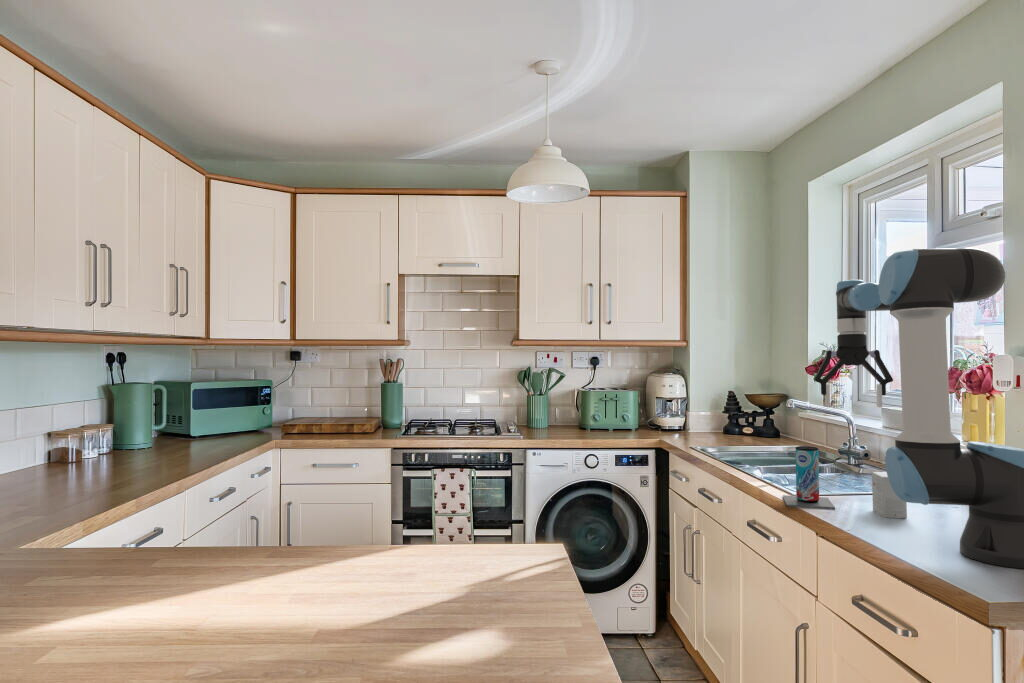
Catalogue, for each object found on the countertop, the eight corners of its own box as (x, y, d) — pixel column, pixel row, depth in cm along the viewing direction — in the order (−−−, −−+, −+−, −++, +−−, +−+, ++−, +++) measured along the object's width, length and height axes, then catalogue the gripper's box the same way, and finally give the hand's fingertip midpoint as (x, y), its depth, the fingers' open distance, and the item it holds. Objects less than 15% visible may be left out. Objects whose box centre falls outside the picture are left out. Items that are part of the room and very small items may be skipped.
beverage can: (792, 500, 181) (791, 447, 181) (802, 497, 185) (801, 445, 185) (813, 504, 176) (812, 450, 177) (823, 501, 180) (822, 447, 181)
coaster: (835, 509, 173) (835, 507, 173) (787, 506, 177) (787, 504, 177) (827, 499, 184) (827, 497, 184) (782, 497, 188) (782, 495, 188)
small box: (907, 518, 163) (906, 477, 163) (883, 517, 164) (882, 476, 164) (895, 511, 171) (894, 471, 171) (872, 510, 172) (871, 471, 172)
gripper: (896, 333, 186) (898, 406, 185) (803, 334, 193) (804, 404, 193) (904, 332, 178) (905, 408, 178) (806, 334, 186) (808, 407, 185)
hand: (853, 406), depth 185 cm, fingers open, 13 cm apart
